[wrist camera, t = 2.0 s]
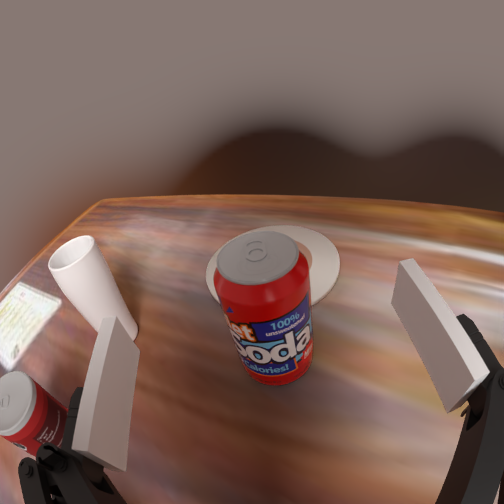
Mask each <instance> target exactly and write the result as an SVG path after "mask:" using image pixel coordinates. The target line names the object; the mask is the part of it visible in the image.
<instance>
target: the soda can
mask: <svg viewBox="0 0 504 504" xmlns="http://www.w3.org/2000/svg"><path fill="white" fill-rule="evenodd" d="M216 265H217V267H216V269H215V272H214V276H213V281H214V287H215V290H216V293H217V296H218V299H219V302H220V305H221V307H222V310H223V313H224V316H225V318H226V321H227V324H228V327H229V329H230V332H231V335H232V337H233V340H234V343H235V345H236V348H237V351H238V353H239V356H240V359H241V361H242V364H243V366H244V368H245V370H246V372H247V373H248V374H249V375H250V376H251V377H252V378H253V379H254V380H256V381H258V382H260V383H262V384H266V385H284V384H288V383H291V382H293V381H295V380H297V379H298V378H300V377H301V376H302V375H303V374H304V373H305V372H306V371H307V370H308V368H309V367H310V365H311V363H312V359H313V327H312V306H311V288H310V273H309V265H308V262H307V259H306V257H305V256H304V254H303V253H302V252H301V251H300V250H299V249H298V246H297V244H296V242H295V241H294V240H293V239H292V238H291V237H289V236H287V235H285V234H283V233H279V232H274V231H258V232H252V233H248V234H245V235H242V236H239V237H237V238H235V239H233V240H232V241H230V242H229V243H227V244H226V245H225V246H224V247H223V248H222V249H221V251H220V252H219V254H218V256H217V260H216Z"/></svg>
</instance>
